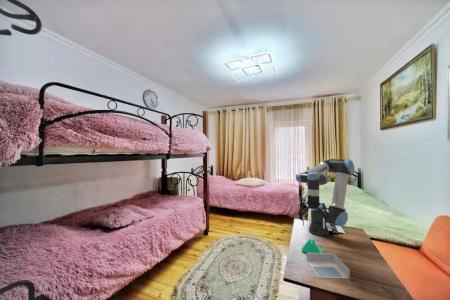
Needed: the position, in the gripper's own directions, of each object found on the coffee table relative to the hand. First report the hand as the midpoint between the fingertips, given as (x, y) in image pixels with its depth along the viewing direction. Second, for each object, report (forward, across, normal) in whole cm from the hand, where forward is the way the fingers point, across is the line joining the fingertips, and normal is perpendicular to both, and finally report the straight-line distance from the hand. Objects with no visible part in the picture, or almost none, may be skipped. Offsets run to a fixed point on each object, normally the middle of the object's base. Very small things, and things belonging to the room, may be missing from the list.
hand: (313, 226), depth 132 cm
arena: (+19, +6, -16) cm, 25 cm away
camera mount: (+19, -1, +1) cm, 19 cm away
